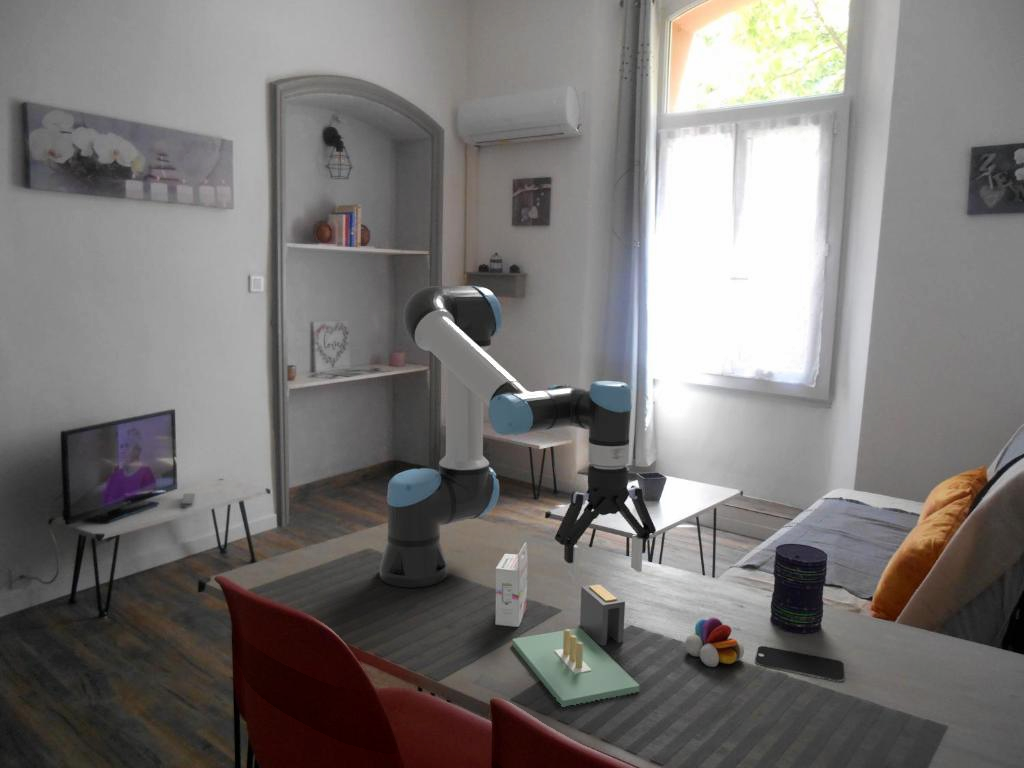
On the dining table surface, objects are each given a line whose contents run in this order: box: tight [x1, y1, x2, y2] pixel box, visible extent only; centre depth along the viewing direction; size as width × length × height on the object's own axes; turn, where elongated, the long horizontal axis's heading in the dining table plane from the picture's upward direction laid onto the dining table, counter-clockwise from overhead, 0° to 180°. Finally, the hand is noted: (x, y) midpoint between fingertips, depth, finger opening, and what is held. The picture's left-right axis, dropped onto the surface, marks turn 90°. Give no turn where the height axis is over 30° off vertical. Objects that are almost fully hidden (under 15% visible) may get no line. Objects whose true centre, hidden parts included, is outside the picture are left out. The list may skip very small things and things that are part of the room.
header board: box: [511, 627, 640, 708], centre depth 137 cm, size 22×14×6 cm, turn 21°
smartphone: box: [754, 645, 846, 682], centre depth 141 cm, size 8×1×15 cm
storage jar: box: [769, 543, 828, 636], centre depth 155 cm, size 10×10×15 cm
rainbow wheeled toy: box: [684, 617, 745, 668], centre depth 142 cm, size 8×10×7 cm
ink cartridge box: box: [494, 541, 529, 628], centre depth 155 cm, size 9×5×15 cm, turn 168°
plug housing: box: [579, 583, 626, 647], centre depth 150 cm, size 9×5×8 cm, turn 21°
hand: (604, 574), depth 149 cm, fingers open, 13 cm apart
